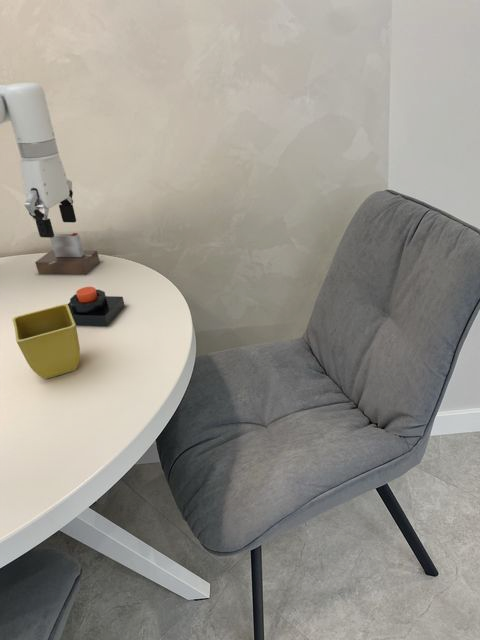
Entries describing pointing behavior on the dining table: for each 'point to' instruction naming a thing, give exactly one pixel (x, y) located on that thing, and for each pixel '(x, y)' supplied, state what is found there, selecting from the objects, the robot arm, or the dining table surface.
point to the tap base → (67, 263)
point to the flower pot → (48, 340)
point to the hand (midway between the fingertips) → (58, 229)
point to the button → (86, 294)
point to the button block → (96, 310)
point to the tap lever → (67, 245)
